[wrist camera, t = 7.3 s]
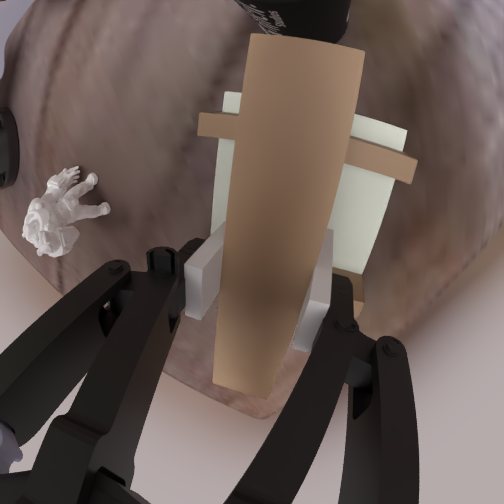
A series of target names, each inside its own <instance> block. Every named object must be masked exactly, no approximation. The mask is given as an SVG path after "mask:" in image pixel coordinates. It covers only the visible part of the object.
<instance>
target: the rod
mask: <svg viewBox="0 0 504 504" xmlns="http://www.w3.org/2000/svg"><path fill="white" fill-rule="evenodd" d="M364 56H365V51H362V50H358V49H354V48H350V47H346V46H342V45H337V44H332V43H327V42H322V41H317V40H311V39H304V38H297V37H290V36H281V35H270V34H255V33H251V37H250V43H249V49H248V55H247V61H246V68H245V74H244V81H243V87H242V94H241V101H240V108H239V115H238V123H237V130H236V138H235V145H234V153H233V161H232V170H231V178H230V187H229V195H228V204H227V214H226V223H225V233H224V246H223V257H222V268H221V279H220V291H219V298H218V311H217V324H216V338H215V352H214V368H213V383H215V384H218V385H221V386H224V387H227V388H230V389H233V390H236V391H239V392H242V393H245V394H248V395H252V396H255V397H259V398H262V399H266V400H267V399H268V396H269V394H270V392H271V389H272V387H273V384H274V382H275V379H276V377H277V374H278V372H279V369H280V367H281V364H282V361H283V359H284V356H285V354H286V351H287V348H288V346H289V343H290V340H291V338H292V335H293V332H294V329H295V326H296V324H297V321H298V318H299V314H300V311H301V308H302V305H303V302H304V299H305V296H306V293H307V290H308V287H309V284H310V281H311V278H312V274H313V271H314V268H315V267H316V263H317V260H318V257H319V254H320V250H321V247H322V244H323V240H324V237H325V233H326V230H327V226H328V223H329V219H330V216H331V212H332V208H333V205H334V201H335V197H336V193H337V189H338V185H339V181H340V177H341V173H342V169H343V165H344V161H345V156H346V152H347V148H348V143H349V138H350V134H351V129H352V124H353V119H354V114H355V109H356V104H357V99H358V93H359V87H360V82H361V75H362V69H363V63H364Z"/></svg>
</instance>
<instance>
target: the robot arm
mask: <svg viewBox="0 0 504 504" xmlns="http://www.w3.org/2000/svg"><path fill="white" fill-rule="evenodd" d="M18 163H19V146H18V136H17V129H16V125H15V121H14V118H13V116H12V113H11V112H10V110H9V109H7V108H1V109H0V190H1V189H4V188H6V187H8V186H11V185H12V184H13V183H14V181H15V179H16V176H17V172H18ZM225 223H226V220H225V221H224V222H223V223H222V224H221V225H220V226H219V227H218V228H217V230H216V231H215V232H214V233H213V234H212V235H211V236H210V237H209V238H208V239H207V240H204V239H200V238H195V239H193V240H190V241H188V242H187V243H186V244H185V245H184V246H183V247H182V248H181V249H180V250H179V252H177V251H176V250H174V249H173V248H170V247H155V248H153V249H150V250H149V251H148V252H147V253H146V254H147V266H148V270H147V272H137V271H131V268H130V265H129V263H128V262H126V261H124V260H112V261H109V262H107V263H105V264H104V265H103V266H101V267H100V268H99V269H97V270H96V271H95V272H93V273H92V274H91V275H90V276H88V277H87V278H86V279H85V280H83V281H82V282H81V283H80V284H78V285H77V286H76V287H75V288H73V289H72V290H71V291H70V292H69V293H67V294H66V295H65V296H64V297H63V298H61V299H60V300H59V301H58V302H57V303H56V304H54V305H53V306H52V307H51V308H50V309H48V311H46V312H45V313H44V314H43V315H42V316H41V317H39V319H37V320H36V321H35V322H34V323H33V324H32V325H31V326H30V327H28V328H27V329H26V330H25V331H24V332H23V333H22V334H21V335H20V336H19V337H18V338H17V339H16V340H15V341H14V342H13V343H12V344H10V345H9V346H8V347H7V348H6V349H5V350H4V351H3V352H2V353H1V354H0V504H150V503H149V502H148V501H147V500H145V499H144V498H143V497H142V496H140V495H139V494H138V493H136V492H134V491H132V490H130V487H131V483H132V479H133V475H134V467H135V466H134V456H135V452H136V449H137V445H138V442H139V439H140V436H141V433H142V429H143V426H144V423H145V420H146V417H147V414H148V411H149V408H150V405H151V402H152V398H153V396H154V393H155V390H156V387H157V384H158V381H159V378H160V375H161V372H162V370H163V367H164V364H165V361H166V358H167V356H168V353H169V350H170V347H171V345H172V342H173V339H174V336H175V334H176V331H177V328H178V326H179V323H180V312H181V311H182V310H183V308H184V307H185V315H186V316H189V317H191V318H194V319H197V320H200V321H201V320H202V319H203V317H204V315H205V314H206V312H207V311H208V309H209V307H210V306H211V304H212V303H213V301H214V299H215V298H216V296H217V295H218V293H219V291H220V279H221V268H222V257H223V246H224V233H225ZM333 233H334V230H332V229H328V228H327V230H326V233H325V237H324V240H323V244H322V247H321V250H320V254H319V257H318V260H317V263H316V267H315V268H314V271H313V274H312V278H311V281H310V284H309V287H308V290H307V293H306V296H305V299H304V302H303V305H302V308H301V311H300V314H299V319H298V323H297V328H296V332H295V336H294V341H293V345H292V349H296V350H300V351H303V352H307V353H309V352H310V350H311V348H312V350H311V354H310V356H309V358H308V361H307V363H306V365H305V367H304V369H303V371H302V373H301V375H300V377H299V379H298V381H297V383H296V385H295V387H294V389H293V391H292V393H291V395H290V397H289V398H288V400H287V402H286V404H285V406H284V408H283V410H282V412H281V413H280V415H279V417H278V419H277V421H276V422H275V424H274V426H273V428H272V429H271V431H270V433H269V434H268V436H267V438H266V440H265V442H264V443H263V445H262V446H261V448H260V450H259V451H258V453H257V454H256V456H255V458H254V459H253V461H252V462H251V464H250V466H249V467H248V469H247V470H246V472H245V473H244V475H243V476H242V478H241V479H240V481H239V482H238V484H237V485H236V486H235V488H234V490H233V491H232V492H231V494H230V495H229V496H228V498H227V499H226V501H225V502H224V503H223V504H291V503H292V502H293V500H294V498H295V496H296V494H297V492H298V491H299V489H300V487H301V485H302V483H303V481H304V479H305V477H306V475H307V473H308V471H309V469H310V466H311V464H312V462H313V460H314V458H315V456H316V454H317V451H318V449H319V447H320V444H321V442H322V440H323V437H324V435H325V432H326V430H327V428H328V425H329V422H330V420H331V417H332V415H333V412H334V409H335V406H336V404H337V401H338V398H339V395H340V393H341V390H342V386H343V384H344V383H346V384H348V385H349V387H348V390H349V391H348V415H347V431H346V444H345V455H344V464H343V473H342V481H341V488H340V494H339V501H338V504H419V445H418V431H417V419H416V410H415V402H414V394H413V387H412V381H411V375H410V369H409V363H408V358H407V352H406V349H405V347H404V346H403V344H402V343H401V342H400V341H399V340H397V339H396V338H394V337H391V336H383V337H380V338H379V339H378V340H377V341H375V340H373V339H371V338H369V337H367V336H366V335H364V334H363V333H361V332H360V331H359V325H358V323H357V321H356V320H354V302H353V284H352V282H351V281H350V279H349V277H346V276H342V275H338V274H335V273H332V263H333ZM107 302H108V304H109V305H108V306H107V307H106V308H104V305H105V304H106V303H107ZM87 372H88V373H87ZM86 373H87V375H86V377H85V379H84V381H83V383H82V385H81V387H80V389H79V391H78V393H77V395H76V397H75V399H74V401H73V403H72V406H71V408H70V410H69V411H68V413H66V414H65V415H59V416H57V417H56V418H54V419H53V421H52V422H51V424H50V426H49V428H48V430H47V433H46V435H45V437H44V440H43V442H42V445H41V447H40V449H39V452H38V455H37V457H36V460H35V462H34V465H33V468H32V470H29V471H22V472H15V473H9V468H10V465H11V464H12V463H13V462H14V461H16V462H19V461H21V460H22V458H23V454H22V451H21V450H20V448H19V447H20V446H22V445H24V444H25V443H27V442H28V441H29V440H30V439H31V438H32V437H33V436H34V435H35V434H36V433H37V432H38V431H39V430H40V429H41V427H42V426H43V425H44V424H45V423H46V421H47V420H48V419H49V418H50V416H51V415H52V414H53V413H54V411H55V410H56V409H57V408H58V407H59V405H60V404H61V403H62V402H63V401H64V399H65V398H66V397H67V396H68V394H69V393H70V392H71V391H72V390H73V388H74V387H75V386H76V385H77V384H78V383H79V382H80V380H81V379H82V378H83V377H84V376H85V374H86Z"/></svg>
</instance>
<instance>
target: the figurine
mask: <svg viewBox="0 0 504 504" xmlns="http://www.w3.org/2000/svg"><path fill="white" fill-rule="evenodd" d="M78 168H79V166H76V167H73V168H71V169H69V170H68V171H67V169H64V170H63V171H62V172H61V173H60V174H59V175H54V176H53V177H51V178H50V179H49V181H48V182H47V186H48V189H47V190H46V192H45V194H44V195H43V196H42V197H41V199H40V198H34V199H33V200H32V201H31V204H30V205H29V208H28V214H27V216H26V218H25V221H24V226H23V234H22V236H23V237H25V238H26V240H27V241H29V242H30V243H33V244H34V247H36V248H39V249H38V250H37V254H38V256H41V255H42V254H44V253H45V254H48V255H49V256H53V257H58V256H61V255H64V254H67V253H69V252H70V250H71V249H72V247H73V245H72V244H74V243H75V241H76V240H77V239H78V237H79V235H80V232H79V231H78V230H77V229H76V228H75V227H74V226H70V227H66V226H67V224H69V223H73V222H75V221H76V220H79V219H84V218H96V217H97V216H100V215H106V214H109V213H110V206H109V204H108V203H107V202H103V203H101V205H99V206H96V205H93V206H92V205H90V206H88V205H79V201H78V198H79V197H80V196H82V195H84V194H86V193H87V191H90V190H92V189H93V188H94V187H93V185H96V184H97V182H98V177H97V175H96V174H95V173H91V174H89V175H88V176H87V179H86V180H85V182H81V183H79V184H77V185H76V186H74V187H73V188H71V189H70V190H69V191H68V192H67V190H66V189H67V187H68V186H70V185H71V184H72V183H76V182H77V180H74V179H77V178H79V175H77V176H74V175H76V174H78V173H80V170H78V171H75V170H77V169H78ZM57 201H58V203H56V202H57Z"/></svg>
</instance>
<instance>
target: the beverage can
mask: <svg viewBox="0 0 504 504" xmlns="http://www.w3.org/2000/svg"><path fill="white" fill-rule="evenodd" d="M235 1H236V2H237V3H238V4H239V5H240V6H241V7H242V8H243V9H244V10H245V11H246V12H247V13H248V14H249V15H250V16H251V17H252V18H253V19H254V20H255V22H256V23H257V24H258V25H259V26H260V27H261V28H262V29H263V30H264V31H265V32H266V34H270V35H281V36H290V37H297V38H304V39H311V40H317V41H322V42H327V43H332V44H334V43H335V42H337V41H338V40H339V39H340V38H341V37H342V35H343V34H344V32H345V30H346V28H347V24H348V17H349V10H350V3H351V0H235Z"/></svg>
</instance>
